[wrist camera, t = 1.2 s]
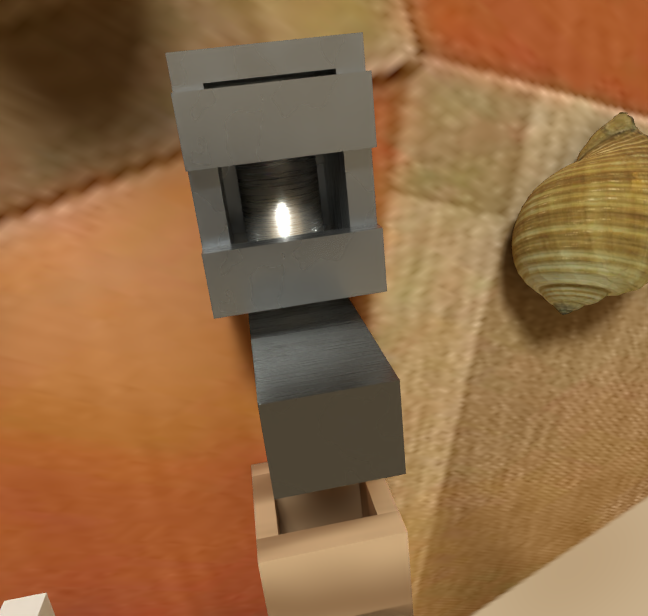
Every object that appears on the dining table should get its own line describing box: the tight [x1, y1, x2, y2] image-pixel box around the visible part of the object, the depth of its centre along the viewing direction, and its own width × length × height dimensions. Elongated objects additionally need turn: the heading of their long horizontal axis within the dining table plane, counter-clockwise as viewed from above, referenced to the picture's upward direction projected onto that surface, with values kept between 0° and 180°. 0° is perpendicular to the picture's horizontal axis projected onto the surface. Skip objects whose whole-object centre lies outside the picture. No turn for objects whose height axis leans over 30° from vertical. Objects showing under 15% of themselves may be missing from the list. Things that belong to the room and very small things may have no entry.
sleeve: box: [165, 32, 387, 319], centre depth 22 cm, size 9×6×7 cm
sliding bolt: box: [235, 155, 406, 500], centre depth 21 cm, size 16×4×12 cm, turn 6°
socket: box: [251, 462, 413, 616], centre depth 29 cm, size 5×7×7 cm
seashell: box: [512, 112, 648, 315], centre depth 27 cm, size 10×7×8 cm
